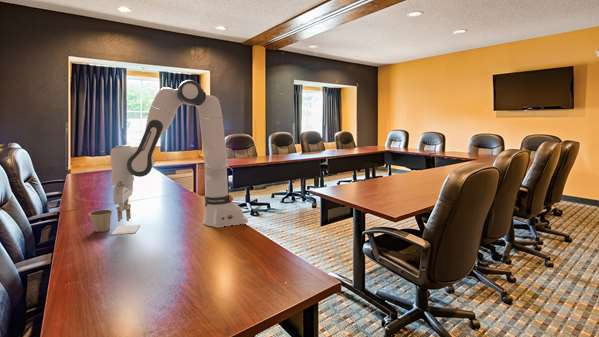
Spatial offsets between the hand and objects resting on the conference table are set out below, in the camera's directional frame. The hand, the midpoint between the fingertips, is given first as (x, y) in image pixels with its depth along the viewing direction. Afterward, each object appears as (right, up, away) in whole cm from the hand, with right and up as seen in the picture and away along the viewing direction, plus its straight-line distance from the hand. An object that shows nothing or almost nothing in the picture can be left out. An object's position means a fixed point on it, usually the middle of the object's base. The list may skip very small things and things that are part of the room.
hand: (124, 209), depth 154 cm
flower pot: (-11, -10, +1) cm, 15 cm away
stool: (0, -5, +1) cm, 5 cm away
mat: (0, -10, +1) cm, 10 cm away
